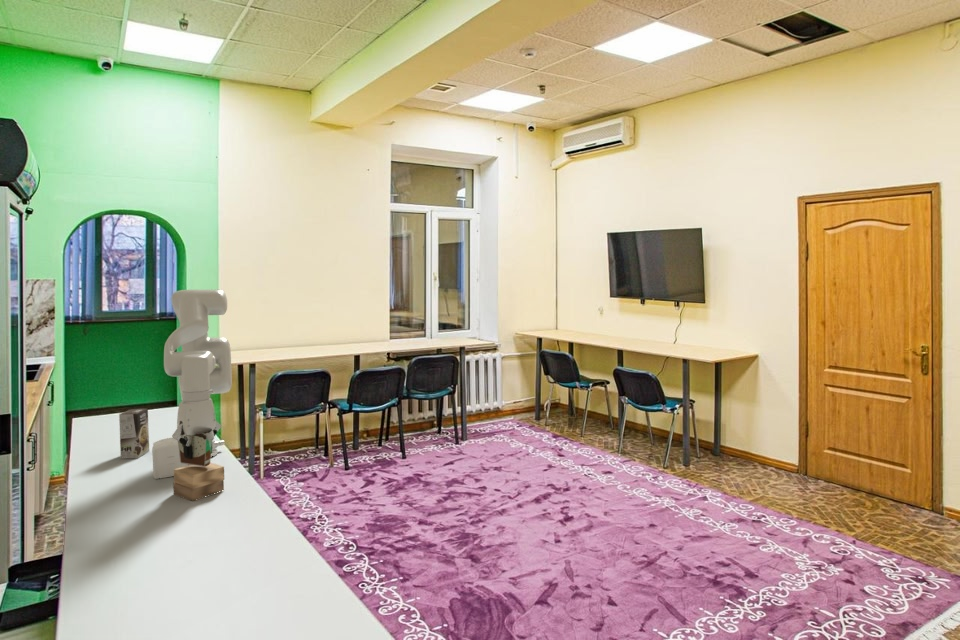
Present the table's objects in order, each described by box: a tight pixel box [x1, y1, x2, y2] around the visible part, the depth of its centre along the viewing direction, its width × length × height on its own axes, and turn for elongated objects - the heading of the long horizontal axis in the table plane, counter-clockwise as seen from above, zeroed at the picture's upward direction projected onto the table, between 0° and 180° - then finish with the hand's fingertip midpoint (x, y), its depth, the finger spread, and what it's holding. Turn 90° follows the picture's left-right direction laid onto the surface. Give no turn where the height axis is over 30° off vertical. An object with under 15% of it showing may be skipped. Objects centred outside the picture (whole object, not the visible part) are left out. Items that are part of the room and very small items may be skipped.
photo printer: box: [151, 437, 189, 480], centre depth 203 cm, size 10×4×12 cm, turn 123°
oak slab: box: [173, 462, 225, 489], centre depth 187 cm, size 10×10×4 cm
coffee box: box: [118, 408, 150, 459], centre depth 226 cm, size 9×6×16 cm
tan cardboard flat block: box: [172, 479, 225, 502], centre depth 187 cm, size 10×10×4 cm
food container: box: [178, 429, 215, 467], centre depth 188 cm, size 12×6×10 cm, turn 70°
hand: (198, 455), depth 187 cm, fingers closed on food container, 5 cm apart
